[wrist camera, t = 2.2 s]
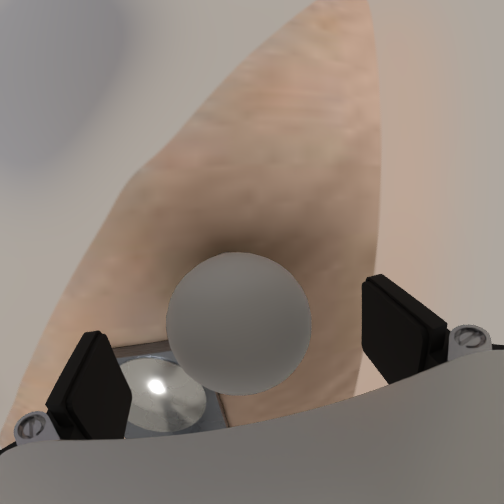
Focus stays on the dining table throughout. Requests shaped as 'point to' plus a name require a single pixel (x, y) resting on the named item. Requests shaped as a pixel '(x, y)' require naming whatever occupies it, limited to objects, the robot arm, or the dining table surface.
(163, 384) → the metal press stand
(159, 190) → the dining table surface
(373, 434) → the robot arm
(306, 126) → the dining table surface
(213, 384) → the lightbulb
